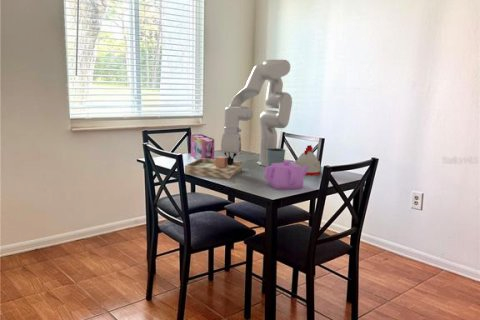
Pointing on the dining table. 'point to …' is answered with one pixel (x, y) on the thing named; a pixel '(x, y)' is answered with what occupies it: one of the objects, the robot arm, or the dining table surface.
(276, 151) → the gray plant pot
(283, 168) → the teakettle
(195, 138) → the gum box
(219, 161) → the block
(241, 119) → the robot arm
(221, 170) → the wooden tray
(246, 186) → the dining table surface
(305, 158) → the kitchen timer
